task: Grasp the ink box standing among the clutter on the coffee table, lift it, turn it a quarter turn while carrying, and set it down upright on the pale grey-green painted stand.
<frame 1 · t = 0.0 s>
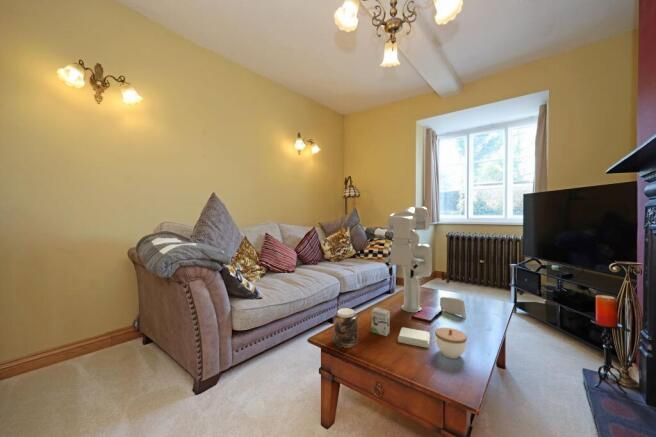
hand: (401, 276, 127), 31 cm above the table, fingers open, 9 cm apart
ink box: (380, 332, 136), on the table
lidded bowl: (450, 354, 115), on the table
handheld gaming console: (452, 314, 161), on the table
stand: (414, 339, 128), on the table
jar: (345, 342, 126), on the table
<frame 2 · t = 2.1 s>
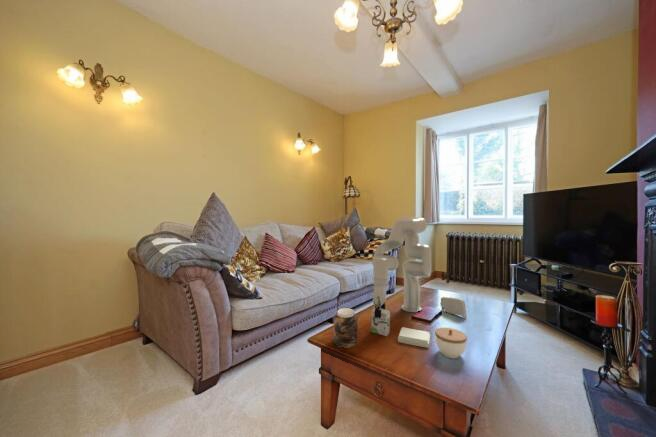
hand: (380, 314, 136), 10 cm above the table, fingers open, 9 cm apart
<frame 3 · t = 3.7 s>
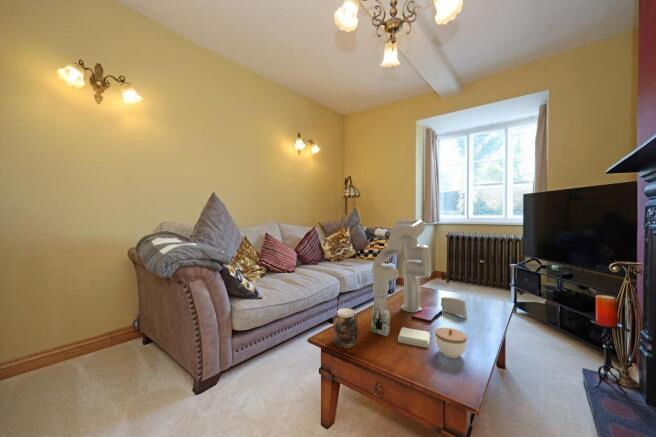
hand: (380, 326, 136), 3 cm above the table, fingers closed on ink box, 5 cm apart
ink box: (380, 332, 136), on the table, touching gripper
everything else where it was.
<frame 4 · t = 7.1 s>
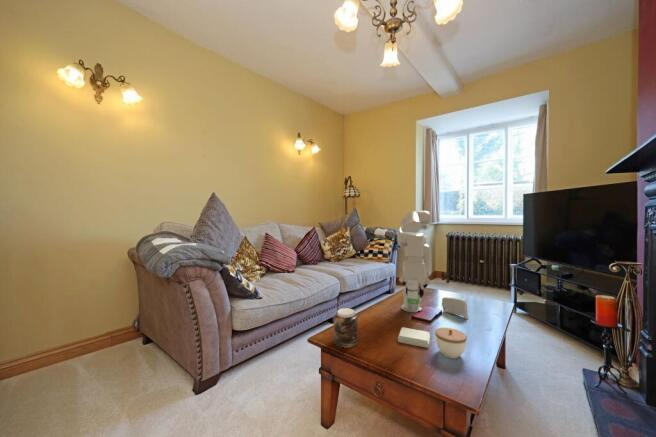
hand: (414, 295, 128), 22 cm above the table, fingers closed on ink box, 5 cm apart
ink box: (414, 302, 128), point 19 cm above the table, touching gripper
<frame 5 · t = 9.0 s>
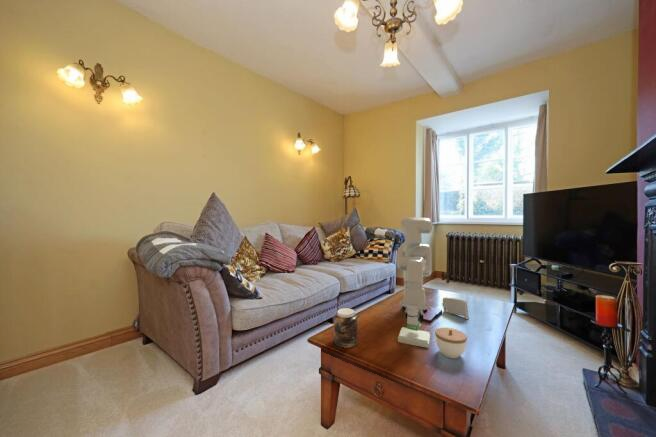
hand: (414, 320, 128), 9 cm above the table, fingers closed on ink box, 5 cm apart
ink box: (414, 327, 128), point 6 cm above the table, touching gripper
when the fingers open (7 cm above the table, at t = 10.4 s): ink box drops 1 cm, resting on stand.
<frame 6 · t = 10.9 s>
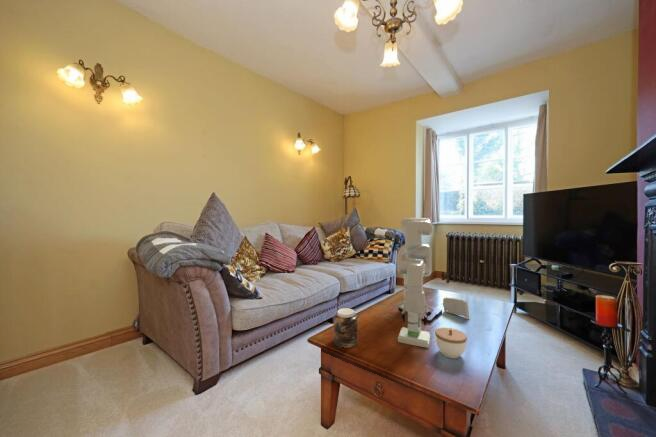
hand: (414, 323, 128), 8 cm above the table, fingers open, 9 cm apart
ink box: (414, 333, 128), point 3 cm above the table, touching stand
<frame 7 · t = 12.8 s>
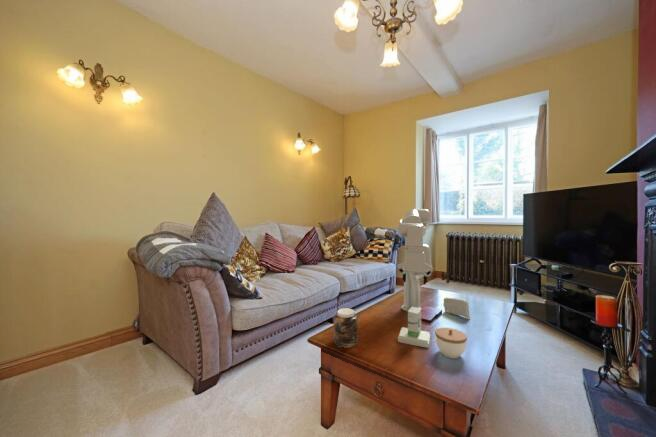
hand: (414, 282, 132), 27 cm above the table, fingers open, 9 cm apart
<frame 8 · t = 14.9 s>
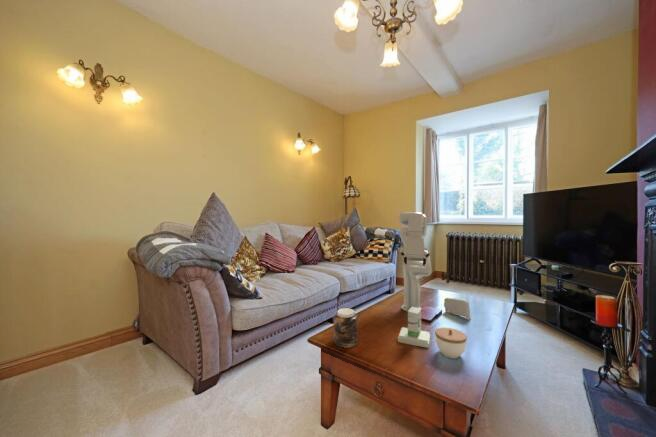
hand: (414, 264, 147), 33 cm above the table, fingers open, 9 cm apart
at the end: ink box inside the target area on the stand (0.2 cm from its centre), point 2.8 cm above the stand's base; ink box tilted 0°; the gripper is holding nothing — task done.
